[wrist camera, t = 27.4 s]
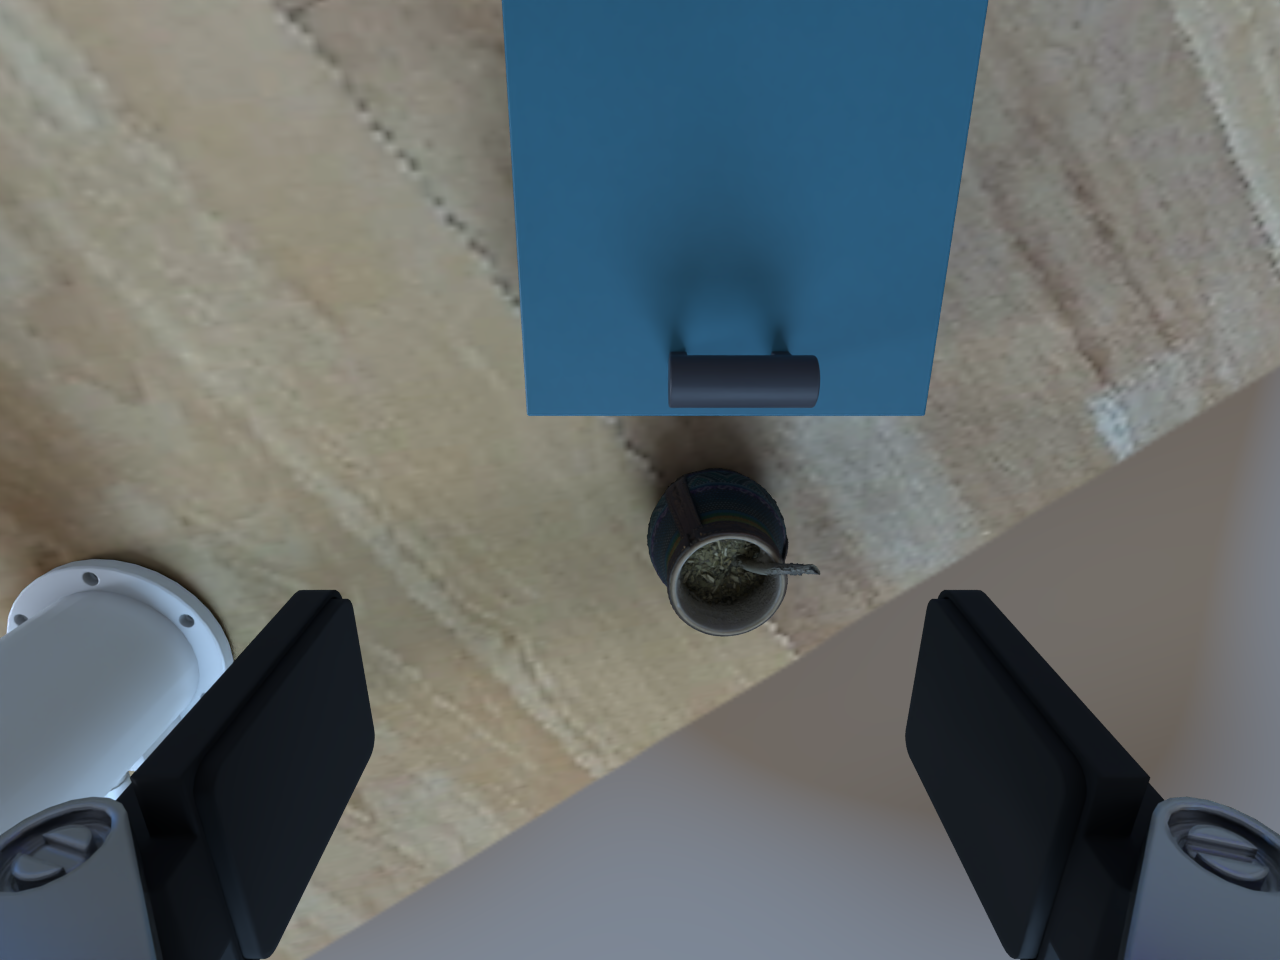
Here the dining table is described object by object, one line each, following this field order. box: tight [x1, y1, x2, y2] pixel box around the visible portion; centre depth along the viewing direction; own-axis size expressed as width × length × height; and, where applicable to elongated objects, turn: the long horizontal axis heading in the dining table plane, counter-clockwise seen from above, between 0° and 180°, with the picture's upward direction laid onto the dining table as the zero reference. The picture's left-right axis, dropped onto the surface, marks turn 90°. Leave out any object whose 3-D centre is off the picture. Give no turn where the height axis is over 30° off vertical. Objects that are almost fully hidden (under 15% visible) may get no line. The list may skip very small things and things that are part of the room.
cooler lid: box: [502, 0, 988, 416], centre depth 24 cm, size 15×16×5 cm
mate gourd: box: [647, 468, 820, 636], centre depth 34 cm, size 7×8×10 cm
